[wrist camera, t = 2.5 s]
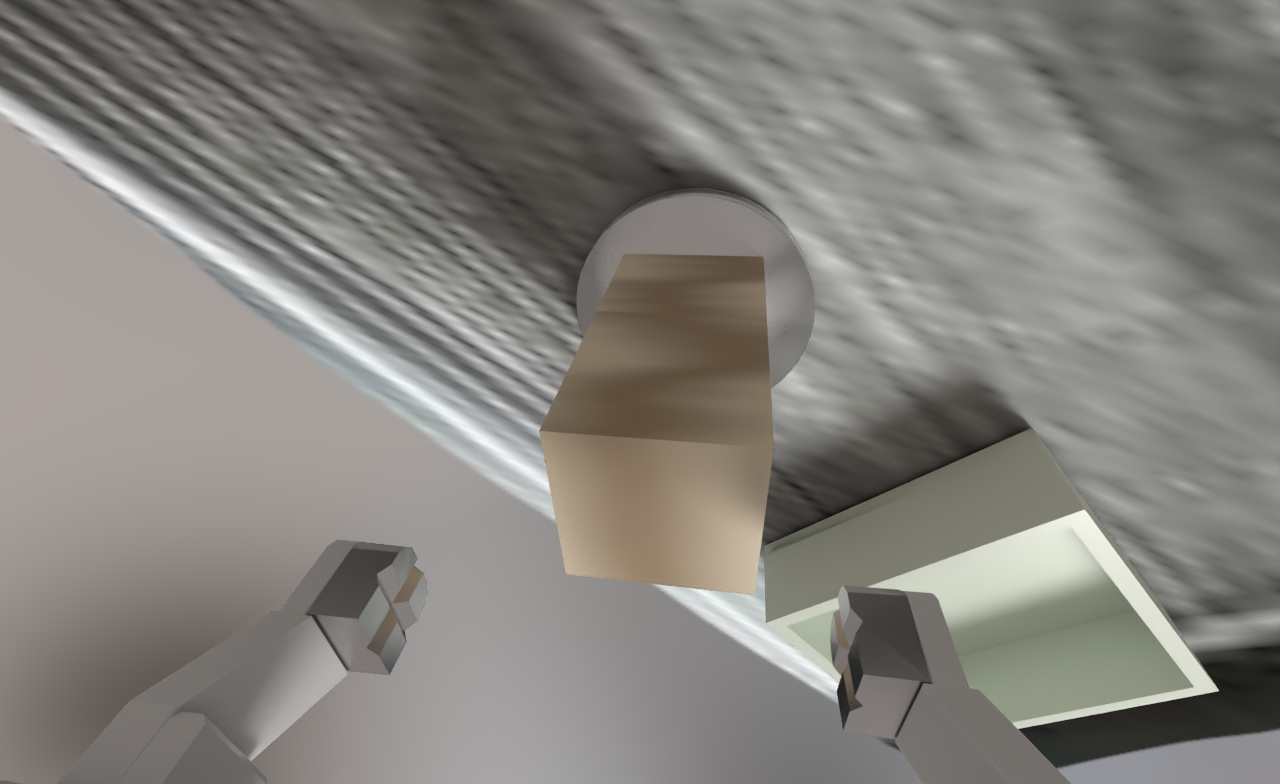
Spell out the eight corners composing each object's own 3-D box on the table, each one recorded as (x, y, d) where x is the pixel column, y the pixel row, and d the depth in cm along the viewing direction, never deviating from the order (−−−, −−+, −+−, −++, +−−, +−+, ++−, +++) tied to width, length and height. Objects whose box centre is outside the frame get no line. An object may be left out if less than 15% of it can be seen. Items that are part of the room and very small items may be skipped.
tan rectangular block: (763, 256, 17) (773, 448, 10) (752, 374, 20) (754, 595, 13) (624, 253, 18) (539, 431, 11) (631, 368, 20) (566, 573, 13)
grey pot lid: (829, 187, 17) (849, 237, 13) (796, 401, 21) (805, 478, 18) (571, 187, 18) (530, 232, 15) (593, 389, 23) (566, 459, 19)
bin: (1031, 427, 20) (1084, 509, 17) (1157, 598, 24) (1218, 690, 21) (763, 546, 26) (765, 623, 23) (899, 667, 30) (917, 747, 27)
